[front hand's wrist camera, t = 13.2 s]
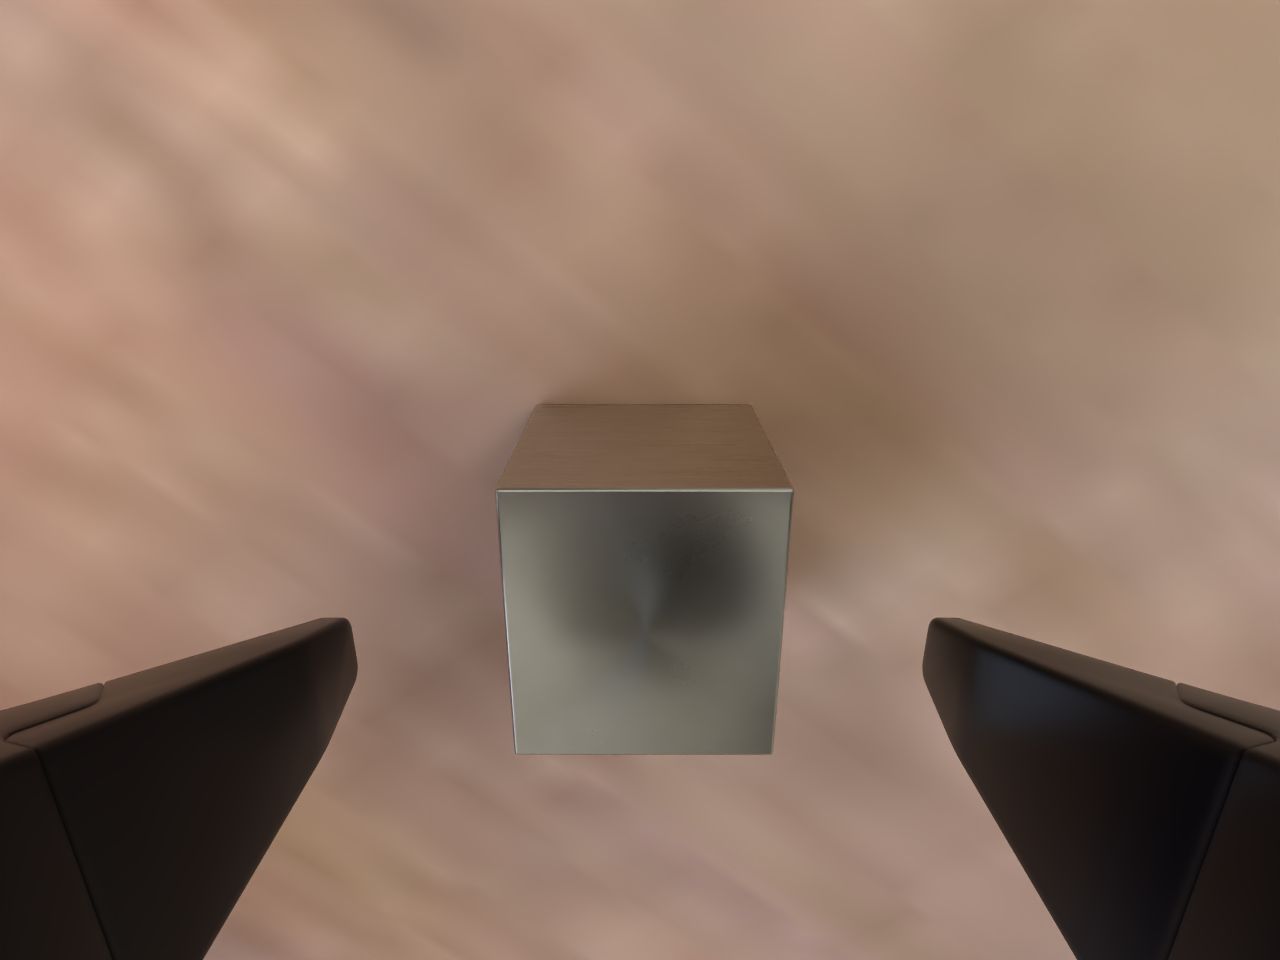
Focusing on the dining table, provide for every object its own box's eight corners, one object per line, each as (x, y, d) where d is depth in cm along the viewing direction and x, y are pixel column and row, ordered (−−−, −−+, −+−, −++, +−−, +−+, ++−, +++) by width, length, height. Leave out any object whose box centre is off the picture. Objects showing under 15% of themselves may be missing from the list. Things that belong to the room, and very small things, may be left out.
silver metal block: (535, 404, 16) (493, 488, 11) (751, 404, 16) (794, 489, 11) (546, 612, 18) (514, 755, 13) (739, 612, 18) (773, 755, 13)
